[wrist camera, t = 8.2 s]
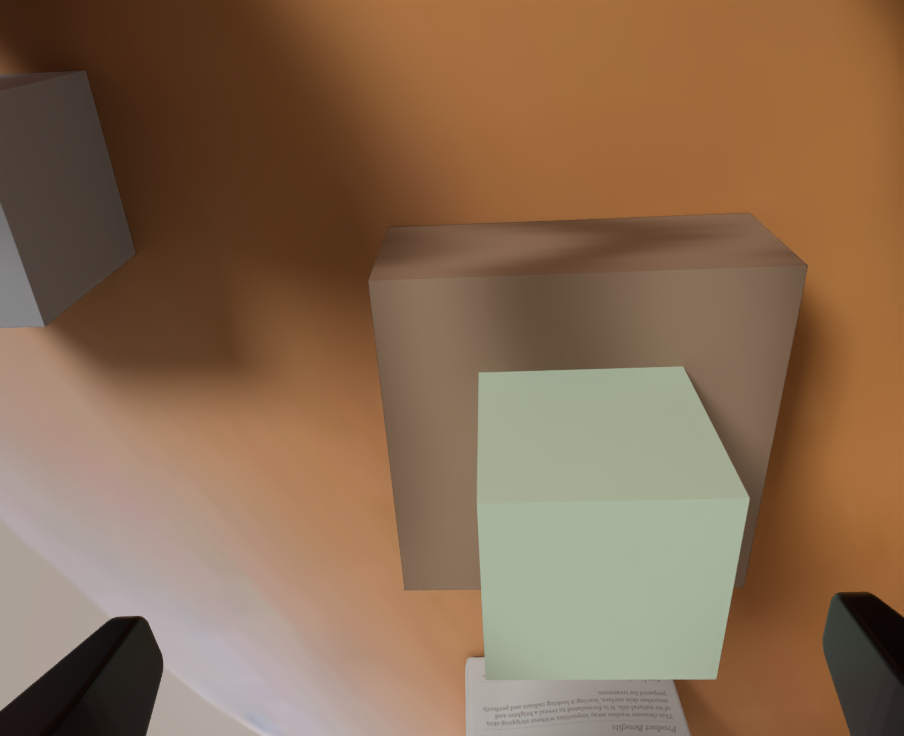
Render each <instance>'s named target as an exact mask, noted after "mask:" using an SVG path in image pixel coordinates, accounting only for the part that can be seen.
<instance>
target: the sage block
mask: <svg viewBox="0 0 904 736" xmlns="http://www.w3.org/2000/svg"><path fill="white" fill-rule="evenodd" d="M749 500H750V498H749V496H748V494H747V492H746V490H745V488H744V486H743V484H742V482H741V480H740V478H739V476H738V474H737V472H736V470H735V468H734V466H733V464H732V462H731V460H730V458H729V456H728V454H727V452H726V450H725V448H724V446H723V444H722V442H721V440H720V438H719V436H718V434H717V432H716V430H715V428H714V427H713V425H712V423H711V421H710V419H709V417H708V415H707V413H706V411H705V409H704V407H703V405H702V403H701V401H700V399H699V397H698V395H697V393H696V391H695V389H694V387H693V385H692V383H691V381H690V379H689V377H688V375H687V373H686V371H685V369H684V367H683V366H681V367H647V368H614V369H581V370H548V371H514V372H481V373H479V382H478V452H477V518H478V537H479V557H480V577H481V596H482V616H483V635H484V655H485V674H486V680H670V679H717V673H718V668H719V662H720V657H721V651H722V646H723V641H724V635H725V630H726V624H727V619H728V614H729V608H730V603H731V597H732V592H733V587H734V581H735V576H736V570H737V565H738V559H739V554H740V549H741V543H742V538H743V532H744V527H745V522H746V516H747V511H748V505H749Z"/></svg>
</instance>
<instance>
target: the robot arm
mask: <svg viewBox="0 0 904 736" xmlns="http://www.w3.org/2000/svg"><path fill="white" fill-rule="evenodd" d="M823 650H824V655H825V658H826V661H827V664H828V667H829V670H830V673H831V676H832V679H833V683H834V686H835V689H836V692H837V695H838V698H839V701H840V704H841V707H842V710H843V713H844V716H845V719H846V722H847V725H848V728H849V731H850V734H851V736H904V617H903V616H902V615H900V614H899V613H898V612H896V611H895V610H894V609H892V608H891V607H890V606H888V605H887V604H886V603H884V602H883V601H882V600H881V599H879V598H878V597H876V596H875V595H873V594H871V593H869V592H840V593H836V594H835V595H834V596H833V597H832V600H831V603H830V607H829V612H828V616H827V621H826V625H825V629H824V634H823ZM162 672H163V657H162V654H161V651H160V649H159V647H158V644H157V642H156V640H155V637H154V635H153V633H152V630H151V628H150V626H149V623H148V622H147V620H146V619H145V618H143V617H141V616H124V617H115V618H112V619H110V620H109V621H107V622H106V623H105V624H104V625H102V626H101V627H100V628H99V629H98V630H97V631H95V632H94V633H93V634H92V635H90V636H89V637H88V638H87V639H86V640H85V641H83V642H82V643H81V644H80V645H79V646H77V647H76V648H75V649H74V650H73V651H71V652H70V653H69V654H68V655H67V656H65V657H64V658H63V659H62V660H61V661H59V662H58V663H57V664H56V665H55V666H54V667H52V668H51V669H50V670H49V671H48V672H46V673H45V674H44V675H43V676H42V677H40V678H39V679H38V680H37V681H36V682H34V683H33V684H32V685H31V686H30V687H29V688H28V689H26V690H25V691H24V692H23V693H21V694H20V695H19V696H18V697H17V698H15V699H14V700H13V701H12V702H11V703H9V704H8V705H7V706H6V707H5V708H3V709H2V710H1V711H0V736H146V734H147V730H148V726H149V722H150V719H151V715H152V711H153V707H154V703H155V700H156V696H157V692H158V689H159V684H160V681H161V677H162Z"/></svg>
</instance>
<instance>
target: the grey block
mask: <svg viewBox="0 0 904 736" xmlns="http://www.w3.org/2000/svg"><path fill="white" fill-rule="evenodd" d="M135 254H136V252H135V249H134V245H133V241H132V238H131V234H130V230H129V227H128V223H127V219H126V216H125V212H124V209H123V205H122V201H121V198H120V194H119V190H118V187H117V183H116V179H115V176H114V172H113V168H112V165H111V161H110V157H109V154H108V150H107V147H106V143H105V139H104V136H103V132H102V128H101V125H100V121H99V117H98V114H97V110H96V106H95V103H94V99H93V95H92V92H91V88H90V85H89V81H88V77H87V74H86V70H85V71H64V72H42V73H20V74H0V328H16V327H45V326H47V325H48V324H49V323H50V322H52V321H53V320H54V319H55V318H57V317H58V316H59V315H60V314H62V313H63V312H64V311H65V310H67V309H68V308H69V307H70V306H72V305H73V304H74V303H75V302H77V301H78V300H79V299H80V298H82V297H83V296H84V295H85V294H87V293H88V292H89V291H90V290H91V289H93V288H94V287H95V286H96V285H98V284H99V283H100V282H101V281H103V280H104V279H105V278H106V277H108V276H109V275H110V274H111V273H113V272H114V271H115V270H116V269H118V268H119V267H120V266H121V265H123V264H124V263H125V262H126V261H128V260H129V259H130V258H131V257H133V256H134V255H135Z"/></svg>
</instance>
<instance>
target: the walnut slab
mask: <svg viewBox="0 0 904 736" xmlns="http://www.w3.org/2000/svg"><path fill="white" fill-rule="evenodd" d="M807 268H808V265H807V264H806V263H805V262H804V261H802V260H801V259H800V258H799V257H798V256H797V255H796V254H795V253H794V252H793V251H791V250H790V249H789V248H788V247H787V246H786V245H785V244H784V243H783V242H781V241H780V240H779V239H778V238H777V237H776V236H775V235H774V234H773V233H771V232H770V231H769V230H768V229H767V228H766V227H765V226H764V225H763V224H762V223H760V222H759V221H758V220H757V219H756V218H755V217H754V216H753V215H752V214H750V213H741V214H715V215H690V216H664V217H639V218H614V219H588V220H563V221H537V222H512V223H487V224H461V225H436V226H410V227H388V230H387V232H386V235H385V238H384V240H383V243H382V245H381V248H380V251H379V253H378V256H377V259H376V261H375V264H374V267H373V269H372V272H371V275H370V277H369V280H368V284H369V292H370V301H371V309H372V318H373V326H374V335H375V343H376V352H377V360H378V369H379V377H380V386H381V394H382V403H383V411H384V420H385V428H386V437H387V445H388V454H389V462H390V471H391V479H392V487H393V496H394V504H395V513H396V521H397V530H398V538H399V547H400V555H401V564H402V572H403V581H404V589H405V590H481V577H480V557H479V537H478V518H477V452H478V382H479V373H481V372H514V371H548V370H581V369H614V368H647V367H681V366H683V367H684V369H685V371H686V373H687V375H688V377H689V379H690V381H691V383H692V385H693V387H694V389H695V391H696V393H697V395H698V397H699V399H700V401H701V403H702V405H703V407H704V409H705V411H706V413H707V415H708V417H709V419H710V421H711V423H712V425H713V427H714V428H715V430H716V432H717V434H718V436H719V438H720V440H721V442H722V444H723V446H724V448H725V450H726V452H727V454H728V456H729V458H730V460H731V462H732V464H733V466H734V468H735V470H736V472H737V474H738V476H739V478H740V480H741V482H742V484H743V486H744V488H745V490H746V492H747V494H748V496H749V498H750V500H749V505H748V511H747V516H746V522H745V527H744V532H743V538H742V543H741V549H740V554H739V559H738V565H737V570H736V576H735V581H734V587H733V588H735V587H744V583H745V578H746V573H747V568H748V563H749V558H750V553H751V548H752V543H753V538H754V533H755V528H756V523H757V518H758V513H759V508H760V503H761V498H762V493H763V488H764V483H765V478H766V473H767V468H768V463H769V458H770V453H771V448H772V443H773V438H774V433H775V428H776V423H777V418H778V413H779V408H780V403H781V398H782V393H783V388H784V383H785V378H786V373H787V368H788V363H789V358H790V353H791V348H792V343H793V338H794V333H795V328H796V323H797V318H798V313H799V308H800V303H801V298H802V293H803V288H804V283H805V278H806V273H807Z"/></svg>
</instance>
